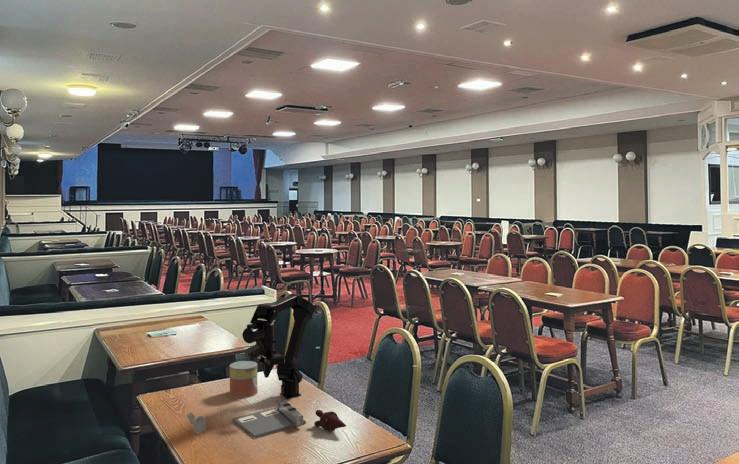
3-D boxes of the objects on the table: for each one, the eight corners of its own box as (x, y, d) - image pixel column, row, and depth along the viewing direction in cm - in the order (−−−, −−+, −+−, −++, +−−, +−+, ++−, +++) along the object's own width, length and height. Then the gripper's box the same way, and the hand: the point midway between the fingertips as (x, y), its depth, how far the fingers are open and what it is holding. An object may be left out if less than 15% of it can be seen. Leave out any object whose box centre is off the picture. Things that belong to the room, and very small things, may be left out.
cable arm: (276, 408, 210) (276, 399, 210) (283, 406, 212) (283, 398, 212) (296, 425, 195) (295, 416, 194) (303, 423, 196) (303, 414, 196)
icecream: (354, 414, 193) (324, 407, 203) (339, 415, 187) (309, 407, 197) (352, 435, 191) (321, 427, 201) (337, 436, 186) (306, 428, 196)
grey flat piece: (202, 428, 195) (202, 406, 195) (206, 430, 195) (205, 407, 194) (186, 436, 189) (186, 413, 189) (190, 437, 188) (190, 414, 188)
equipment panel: (281, 408, 214) (281, 405, 214) (305, 423, 200) (305, 420, 200) (232, 421, 202) (232, 417, 202) (255, 438, 188) (255, 434, 188)
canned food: (254, 398, 225) (254, 369, 224) (226, 398, 225) (226, 368, 224) (260, 388, 236) (260, 360, 236) (233, 388, 236) (233, 360, 236)
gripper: (236, 335, 216) (236, 375, 217) (258, 346, 201) (258, 388, 202) (262, 331, 222) (262, 369, 223) (285, 341, 208) (285, 382, 209)
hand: (266, 377), depth 214 cm, fingers closed
